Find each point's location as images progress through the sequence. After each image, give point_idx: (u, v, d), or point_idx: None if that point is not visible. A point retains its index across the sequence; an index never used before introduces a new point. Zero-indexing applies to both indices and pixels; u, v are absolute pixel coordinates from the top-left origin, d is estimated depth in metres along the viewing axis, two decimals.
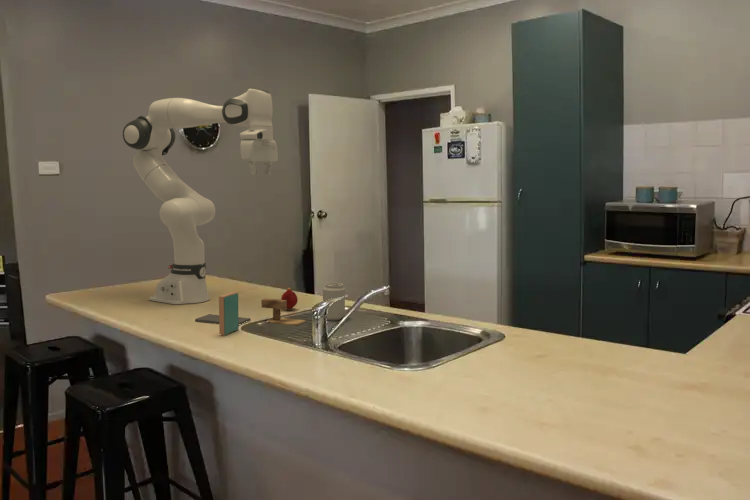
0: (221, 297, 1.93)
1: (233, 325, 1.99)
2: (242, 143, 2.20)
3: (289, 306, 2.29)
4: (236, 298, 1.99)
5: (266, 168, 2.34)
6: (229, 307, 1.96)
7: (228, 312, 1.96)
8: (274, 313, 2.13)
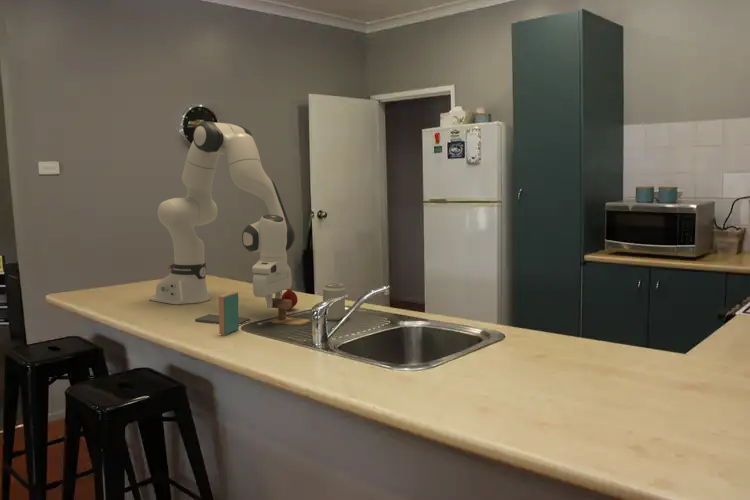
0: (221, 297, 1.93)
1: (233, 325, 1.99)
2: (255, 278, 2.05)
3: None
4: (236, 298, 1.99)
5: (276, 297, 2.16)
6: (229, 307, 1.96)
7: (228, 312, 1.96)
8: (279, 313, 2.13)
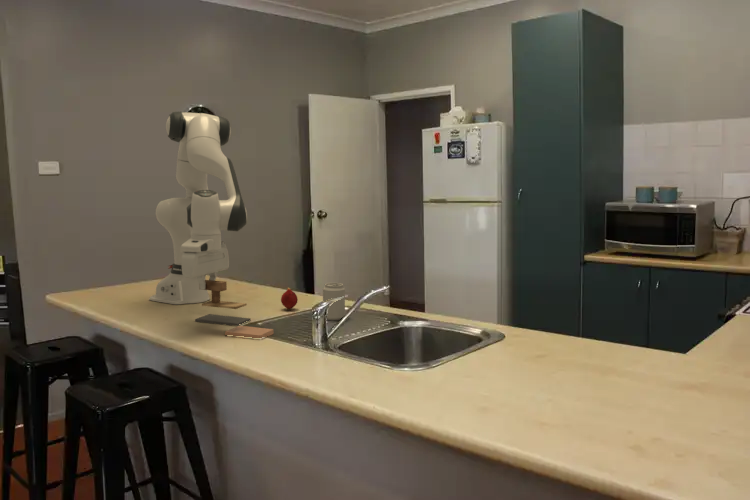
0: None
1: None
2: (183, 257, 1.90)
3: (289, 306, 2.29)
4: None
5: (210, 279, 2.01)
6: None
7: None
8: (213, 295, 1.98)
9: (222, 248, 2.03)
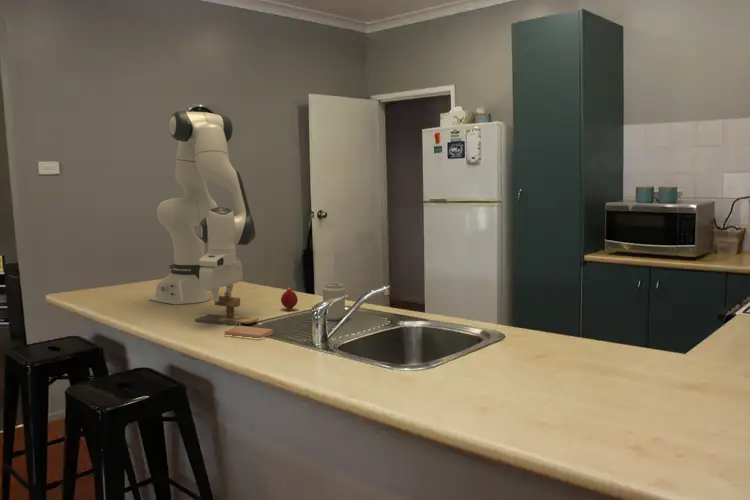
0: None
1: None
2: (201, 271, 2.03)
3: (289, 306, 2.29)
4: None
5: (227, 290, 2.15)
6: None
7: None
8: (227, 311, 2.11)
9: (236, 261, 2.16)
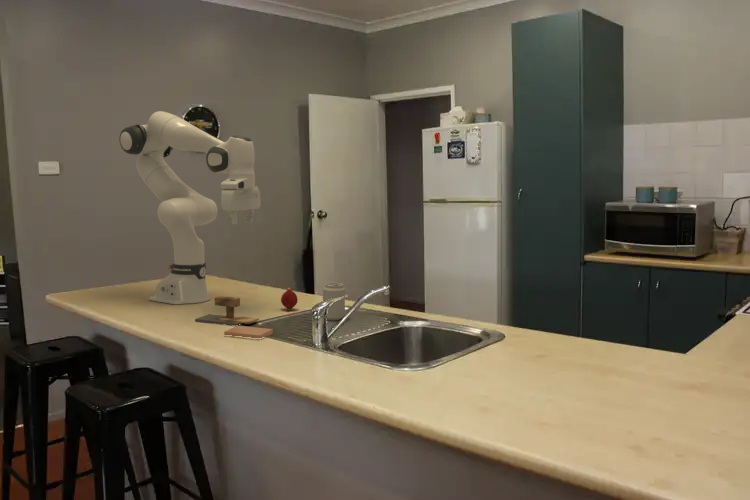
0: None
1: None
2: (223, 193, 2.15)
3: (289, 306, 2.29)
4: None
5: (248, 215, 2.29)
6: None
7: None
8: (227, 311, 2.11)
9: (255, 189, 2.29)
